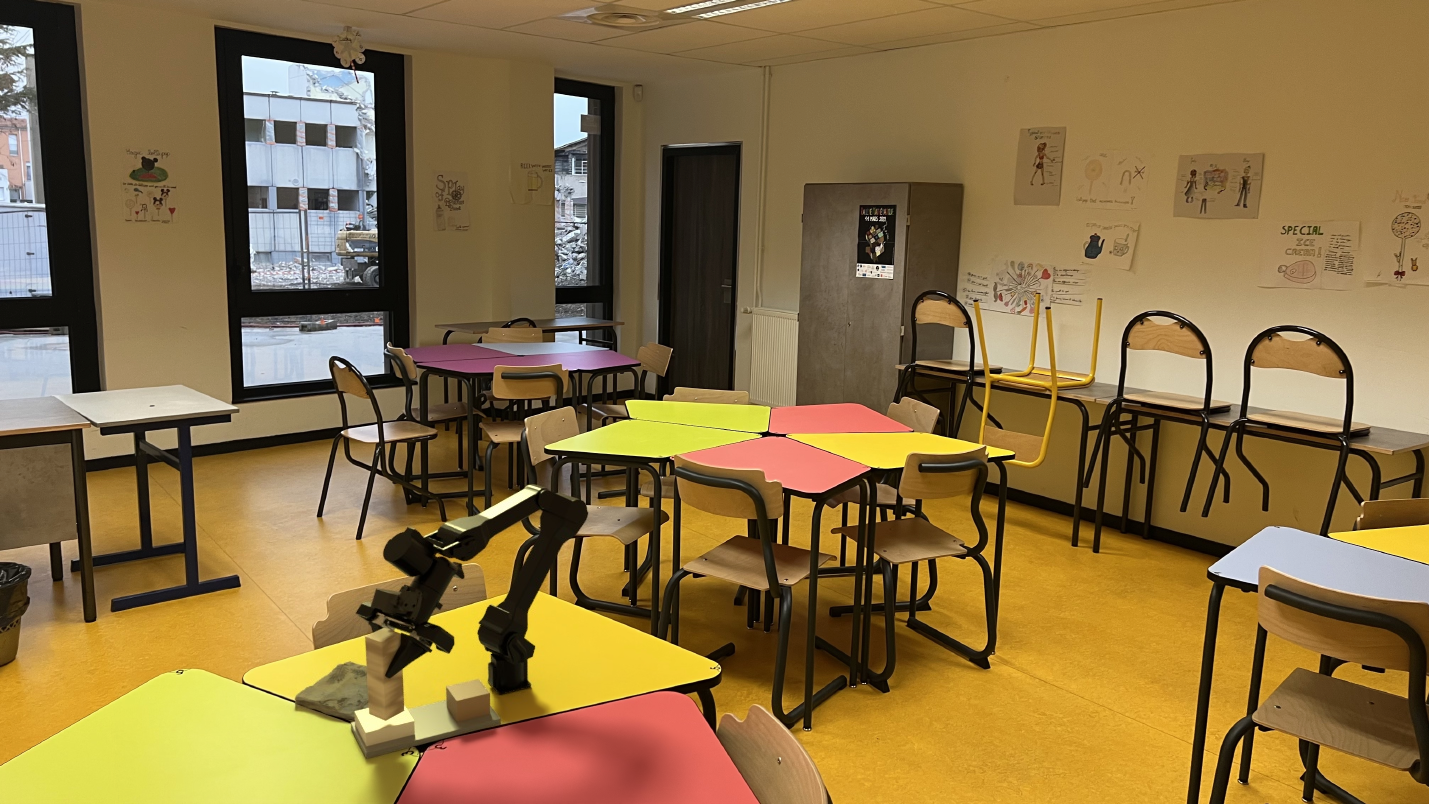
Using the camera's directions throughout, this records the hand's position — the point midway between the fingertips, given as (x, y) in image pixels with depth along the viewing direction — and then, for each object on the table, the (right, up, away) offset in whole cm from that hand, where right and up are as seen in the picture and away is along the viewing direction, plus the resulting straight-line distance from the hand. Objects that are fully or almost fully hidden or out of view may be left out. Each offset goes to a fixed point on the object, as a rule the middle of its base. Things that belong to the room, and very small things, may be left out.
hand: (378, 673), depth 165 cm
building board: (+5, -12, +10) cm, 16 cm away
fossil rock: (-12, -10, +20) cm, 26 cm away
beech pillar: (+1, -7, +3) cm, 8 cm away
